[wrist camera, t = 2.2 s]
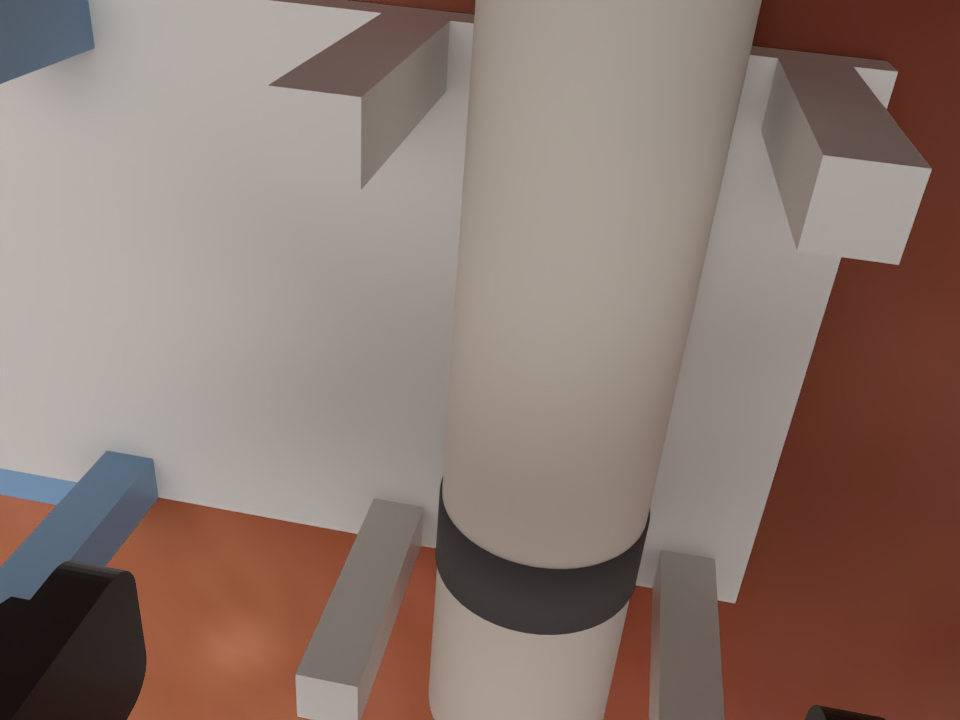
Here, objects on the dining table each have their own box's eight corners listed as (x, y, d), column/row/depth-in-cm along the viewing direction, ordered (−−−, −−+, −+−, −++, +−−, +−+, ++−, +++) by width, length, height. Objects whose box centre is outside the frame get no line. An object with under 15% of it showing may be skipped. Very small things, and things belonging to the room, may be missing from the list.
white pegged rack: (887, 61, 15) (996, 176, 10) (721, 614, 22) (737, 850, 17) (-441, -89, 18) (-868, -58, 13) (-226, 438, 25) (-454, 593, 20)
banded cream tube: (500, -107, 14) (454, -88, 11) (762, -82, 14) (802, -54, 10) (445, 613, 23) (408, 756, 19) (609, 641, 22) (602, 793, 19)
